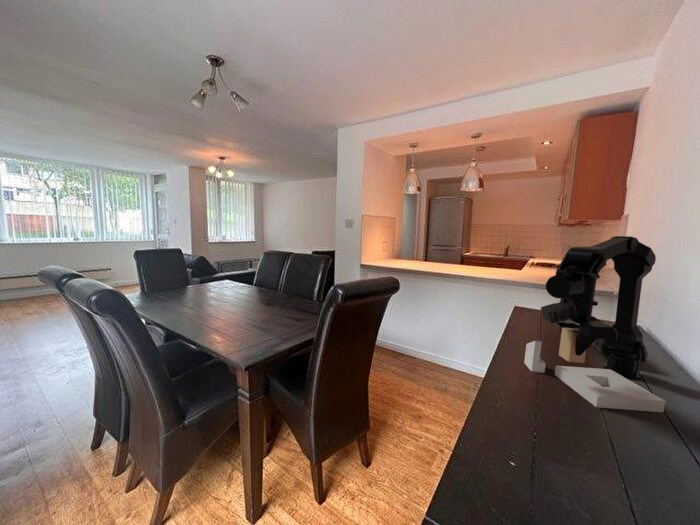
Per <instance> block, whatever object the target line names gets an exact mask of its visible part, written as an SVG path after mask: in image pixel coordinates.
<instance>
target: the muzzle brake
mask: <svg viewBox="0 0 700 525" xmlns="http://www.w3.org/2000/svg"><path fill="white" fill-rule="evenodd" d="M590 322H595V323H603V322H602V321H601V320H600V319H598V318H596V319H595V321H590ZM579 327H580V326H579ZM579 327H578V329H579ZM590 346H592V347H593V348H594V349H595V350H597V352H599V354H600V355H602V356H603V357H605V358H606V359H607V360H608V357H609V356H610V352H608V351H605V348H604V339H596V340H595V341H594V342H593V343H592V344H591V345H590Z"/></svg>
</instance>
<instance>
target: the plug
mask: <svg viewBox="0 0 700 525" xmlns="http://www.w3.org/2000/svg"><path fill="white" fill-rule="evenodd" d="M571 330H579V329H578V328H563V327H562V333H561V332H560V340H559V350H558V356H559V357H561V358H562V359H564V360H565V361H567V362H568V363H582V364H584V363H585V361H586V354H587V349H586V350H585V351H584V353H583V354H582V355H580V356H579V355H576V352H575V345H576V336H575V335H574V333H573V332H572V331H571Z"/></svg>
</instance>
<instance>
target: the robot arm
mask: <svg viewBox="0 0 700 525" xmlns="http://www.w3.org/2000/svg"><path fill="white" fill-rule="evenodd" d="M610 259H611V261H612V262H613V270H614V271H615V273H616V274H617V275H618V277H619V284H618V285H619V287H618V293H617V303H616V310H615V320H614V324H612V326H611V325H609V324H607V323H604V322H602V323H595V322H590V321H595V319H596V317H595V316H593V308H594V306H596V307H598V304H599V301H596V300H595V294H596V287H597V279H600V278H601V275H600V272H601V270H602V269H603V268H604V267H606V266H607V262H608V260H610ZM656 260H657V258H656V254H655V252H654V250H653V249H652V247H650V246H648V245H645V244H644V243H642V242H640V241H639V239H638V238H637V237H634V236H626V235H624V236H623V235H621V236H620V235H615V236H612V237H611V238H609V239H607V240H605V241H602V242H599V243H596V244H594V245H591V246H589V245H588V246H572V247H571V248H569V249H568V251H567V252H566V253H565V255H564V256H563V258H562V259H561V262H560V263H559V265H558V267H557V269H556V271H555V275H552V276H550V277H549V278H548V280H547V281H546V282H545V289H546V292H547V294H548V295H550V296H551V297H552V298H555V299H560V300H559V301H558V302H555V303H551V304H547V305H544V306H541V307H540V311H541V316H542V318H543V320H546V321H548V322H549V323H551V324H555V325H556V326H557V327H558V329H559V332H560V334H561V333H562V327H563V328H578V327H579V326H580V327H579V330H571V331H572V332H573V333H574V335H575V336H576V345H575V352H576V355H579V356H580V355H582V354H583V353H584V351H585V350H586V351H587V349H588V348H589V347H590V346H592V345H591V344H592V343H593V342H594V341H595V340H596V339H604V348H605V351H608V352H610V356H609V357H608V359H607V363H606V366H604V365H603V368H602V369H611V370H612V371H614V372H616V373H618V374H619V375H621V376H623V377H625V378H626V379H629V380H632V379H633V380H642V377H641V376H639V375H638V369H639V363H640V362H641V363H646V361H647V359H648V355H649V354H648V353H649V352H648V350H647V347H646V345H645V342H644V335H643V333H642V331H641V329H640V328H639V327H638V325H637V324H638V317H639V308H640V302H641V295H642V294H641V293H642V285H643V279H644V278H645V277H646V276H647V275H648V274H650V273H652V272H651V271H652V269H653V266H654V265H655V263H656Z"/></svg>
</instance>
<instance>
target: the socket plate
mask: <svg viewBox="0 0 700 525" xmlns="http://www.w3.org/2000/svg"><path fill="white" fill-rule="evenodd" d="M554 376H556V377H557V378H558V379H559V380H561V381H562V382H563V383H564V384H566V385H567V386H568V387H570V388H571V389H572V390H573V391H575V392H576V393H577V394H578V395H580V396H581V397H582V398H583V399H585V400H586V401H588V402H589V403H590V404H592V406H594V407H595V408H600V409H601V408H603V409H612V410H613V409H615V410H616V409H617V410H625V411H626V410H628V411H641V412H642V411H643V412H653V413H655V412H656V413H664V411H665V405H666V400H664V399H663V398H661V397H659V396H658V395H656V394H654V393H651V392H650V391H649V390H647V389H646V388H643V387H642V386H640V385H638V384H636V383H635V382H633V381H632V380H631V379H629V378H625V377H623V376H621V375H619V374H618V373H616V372H614V371H612V370H611V369H604V368H595V367H580V366H569V365H568V366H566V365H555V369H554Z"/></svg>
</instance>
